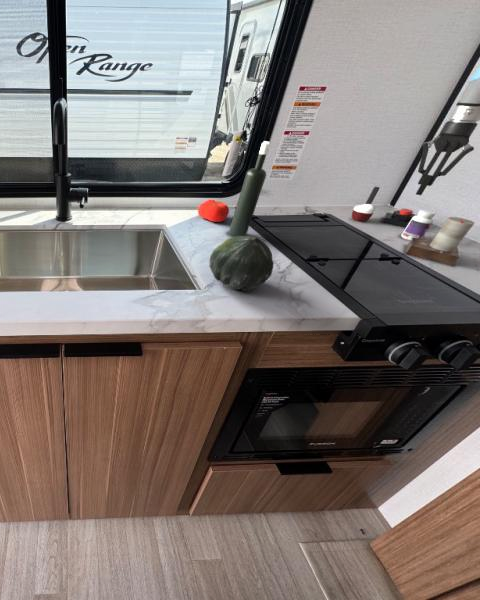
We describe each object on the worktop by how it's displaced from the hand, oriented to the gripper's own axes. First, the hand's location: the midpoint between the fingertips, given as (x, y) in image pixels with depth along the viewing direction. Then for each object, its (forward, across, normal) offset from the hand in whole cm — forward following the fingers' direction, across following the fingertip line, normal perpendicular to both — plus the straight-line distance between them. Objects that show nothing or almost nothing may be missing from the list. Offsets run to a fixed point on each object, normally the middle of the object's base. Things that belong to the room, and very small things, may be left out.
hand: (418, 194), depth 118 cm
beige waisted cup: (+9, +10, -28) cm, 31 cm away
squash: (+12, -31, -89) cm, 95 cm away
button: (+8, 0, 0) cm, 8 cm away
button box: (+12, 0, 0) cm, 12 cm away
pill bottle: (+12, +4, -15) cm, 19 cm away
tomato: (+11, -56, -48) cm, 74 cm away
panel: (+12, +8, -28) cm, 31 cm away
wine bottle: (+11, -42, -56) cm, 71 cm away
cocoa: (+12, -12, -7) cm, 18 cm away
